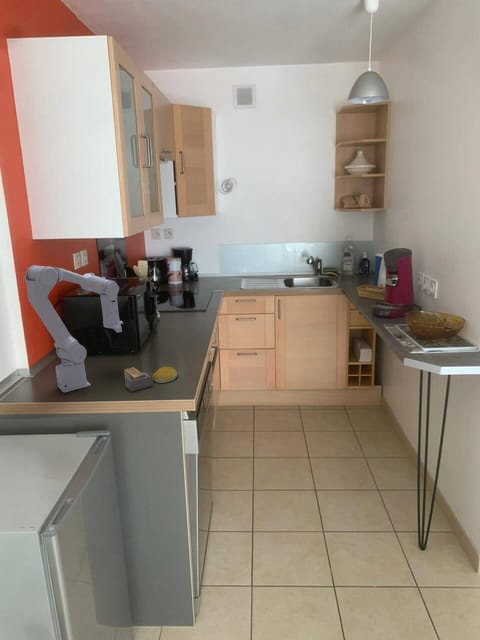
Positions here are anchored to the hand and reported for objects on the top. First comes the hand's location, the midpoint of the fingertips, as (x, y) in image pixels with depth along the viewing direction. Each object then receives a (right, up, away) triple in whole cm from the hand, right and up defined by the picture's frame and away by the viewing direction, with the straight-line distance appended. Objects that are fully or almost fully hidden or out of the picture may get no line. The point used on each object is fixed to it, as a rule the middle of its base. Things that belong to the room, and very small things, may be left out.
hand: (114, 346), depth 177 cm
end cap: (+12, -13, -15) cm, 23 cm away
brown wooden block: (+10, -12, -12) cm, 20 cm away
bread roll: (+20, -11, -8) cm, 24 cm away
